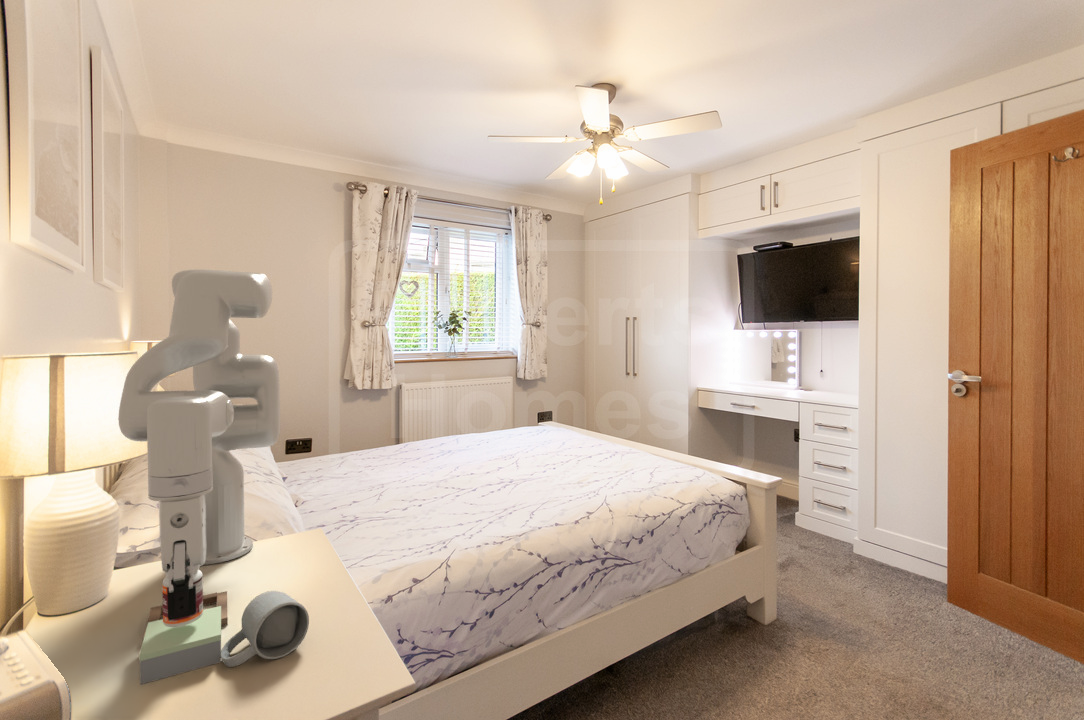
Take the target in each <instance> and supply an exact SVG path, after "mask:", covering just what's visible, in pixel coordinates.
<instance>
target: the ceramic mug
mask: <svg viewBox="0 0 1084 720" xmlns="http://www.w3.org/2000/svg"><path fill="white" fill-rule="evenodd" d="M309 624H310V615H309V612H308V610H307V609H306V607H305V606H304V605H303V604H302V603H300V602H299V601H297V600H295V599H294V598H293V597H291V596H290V595H289V594H287V593H285V592H283V591H278V590H269V591H265V592H262V593H259V594H258V595H257V596H255V597H253V599H251V600H250V602H249V603H248V604H247V606H246V607H245V608H244V611H243V613H242V616H241V629H240V630H239V631H238V632H237V633H235V634H234V635H233V636H232V637H230V639H228V640H227V641H226V642H225V644H224V645H223V647H221V654H220V656H221V662H222V663H224V665H225V666H226V667H228V668H233V667H237V666H239V665H242V664H243V663H246V662H247V661H248V660H250V659H251V658H253V657H254V656H255V655H258V656H259V657H260V658H262V659H264V660H271V661H272V660H277V659H281V658H284V657H285V656H288V655H290V654H291V653H293V652H294V651H295V650H296V649H297V648H298V647H299V646H300V645H301V643H302V642H303V641H304V639H305V638H306V636H307V633H308V630H309ZM244 640H247V641H248V642H249V646H247V648H245V649H243V650H242V651H240V652H238V653H237V654H235V655H232V656H230V655H231V652H232V651H233V650H234V649H235V648H236V647H237V646H238V645H239V644H240V643H242V642H243V641H244Z"/></svg>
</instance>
